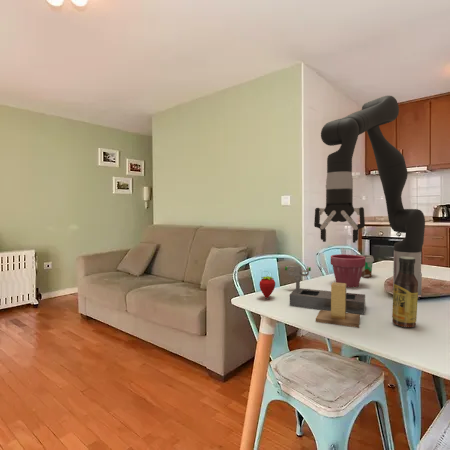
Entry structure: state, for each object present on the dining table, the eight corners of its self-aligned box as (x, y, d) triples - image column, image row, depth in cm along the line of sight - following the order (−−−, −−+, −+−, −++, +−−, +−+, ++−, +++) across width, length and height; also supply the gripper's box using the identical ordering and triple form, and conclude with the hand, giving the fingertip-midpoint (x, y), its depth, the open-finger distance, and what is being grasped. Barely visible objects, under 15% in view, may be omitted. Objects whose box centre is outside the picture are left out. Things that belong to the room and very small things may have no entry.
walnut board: (360, 317, 101) (360, 314, 101) (358, 327, 93) (358, 324, 93) (320, 312, 106) (320, 309, 106) (315, 321, 98) (315, 318, 98)
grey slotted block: (365, 305, 113) (365, 294, 113) (364, 314, 104) (364, 302, 104) (296, 298, 123) (296, 287, 123) (289, 305, 114) (289, 294, 114)
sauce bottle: (387, 321, 98) (388, 255, 97) (407, 320, 98) (408, 255, 97) (401, 329, 91) (402, 259, 90) (422, 328, 92) (423, 258, 91)
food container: (378, 278, 154) (378, 257, 154) (365, 278, 154) (365, 258, 154) (367, 273, 166) (367, 254, 166) (355, 273, 166) (355, 254, 166)
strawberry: (277, 296, 126) (277, 270, 125) (272, 301, 119) (272, 274, 118) (263, 294, 128) (262, 269, 128) (256, 300, 121) (256, 273, 121)
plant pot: (349, 280, 152) (349, 253, 151) (372, 287, 138) (373, 257, 138) (323, 283, 147) (323, 255, 146) (345, 290, 133) (345, 259, 133)
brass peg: (346, 315, 100) (346, 283, 100) (345, 319, 97) (345, 286, 96) (332, 313, 102) (332, 282, 102) (331, 317, 98) (331, 285, 98)
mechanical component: (310, 291, 132) (310, 267, 132) (285, 290, 134) (285, 266, 134) (310, 289, 135) (310, 266, 135) (285, 288, 137) (285, 265, 137)
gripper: (365, 187, 98) (365, 241, 99) (316, 189, 104) (316, 240, 105) (364, 186, 91) (364, 244, 92) (312, 188, 97) (312, 242, 98)
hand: (338, 242), depth 98 cm, fingers open, 8 cm apart
